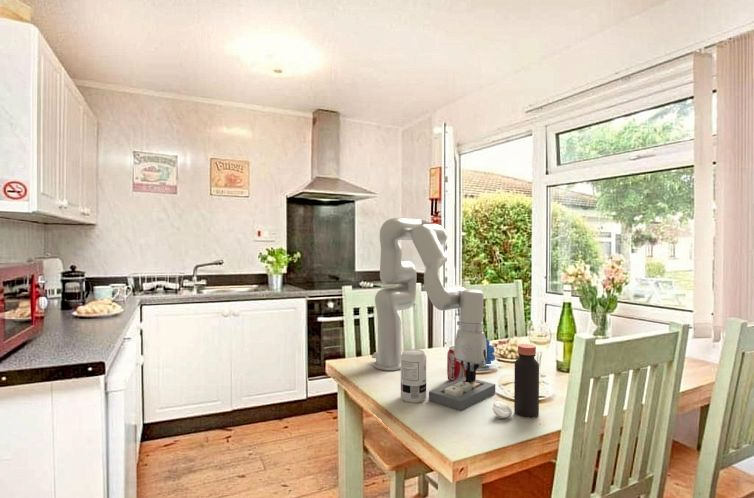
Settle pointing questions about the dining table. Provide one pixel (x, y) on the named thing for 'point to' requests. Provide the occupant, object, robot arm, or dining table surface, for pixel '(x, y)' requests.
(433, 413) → the dining table surface
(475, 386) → the key
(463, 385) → the key
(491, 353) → the grapes
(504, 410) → the dumpling
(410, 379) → the supplement can
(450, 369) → the soda can
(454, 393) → the key
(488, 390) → the keypad
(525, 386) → the bottle
